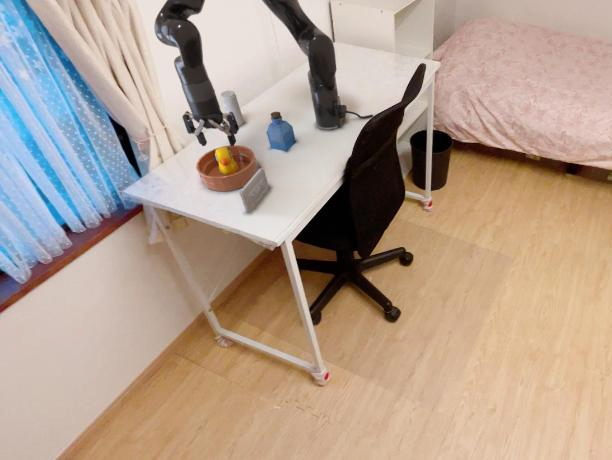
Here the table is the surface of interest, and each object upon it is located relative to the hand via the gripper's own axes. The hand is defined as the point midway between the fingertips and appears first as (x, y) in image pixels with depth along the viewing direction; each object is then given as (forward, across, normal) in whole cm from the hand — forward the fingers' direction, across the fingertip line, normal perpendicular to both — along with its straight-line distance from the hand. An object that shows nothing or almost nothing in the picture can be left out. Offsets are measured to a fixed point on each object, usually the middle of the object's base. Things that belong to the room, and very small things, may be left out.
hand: (219, 144), depth 130 cm
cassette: (+12, +12, -12) cm, 21 cm away
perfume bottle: (+11, +13, +17) cm, 24 cm away
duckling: (+11, 0, 0) cm, 11 cm away
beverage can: (+11, -7, +31) cm, 34 cm away
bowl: (+11, 0, 0) cm, 11 cm away
